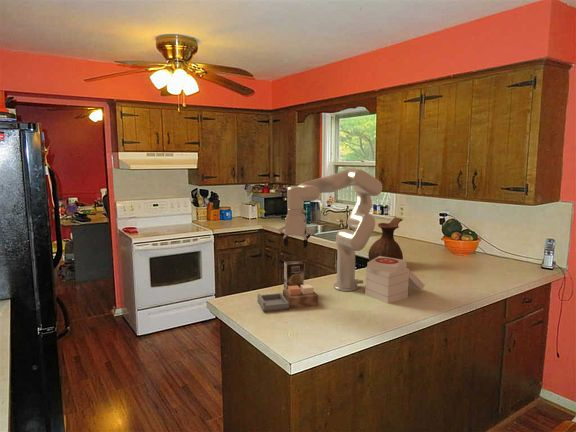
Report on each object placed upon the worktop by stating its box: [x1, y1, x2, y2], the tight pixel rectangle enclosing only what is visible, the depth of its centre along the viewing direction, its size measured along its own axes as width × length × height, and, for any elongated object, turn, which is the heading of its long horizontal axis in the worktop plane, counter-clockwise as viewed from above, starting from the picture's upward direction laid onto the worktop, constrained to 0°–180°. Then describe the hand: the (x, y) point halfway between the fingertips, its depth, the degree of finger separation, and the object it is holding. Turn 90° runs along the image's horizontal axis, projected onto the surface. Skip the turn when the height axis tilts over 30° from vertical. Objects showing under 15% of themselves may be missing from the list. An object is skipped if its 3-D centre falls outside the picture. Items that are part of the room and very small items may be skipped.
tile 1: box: [288, 285, 301, 295], centre depth 197 cm, size 5×5×3 cm
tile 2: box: [300, 283, 315, 294], centre depth 198 cm, size 5×5×3 cm
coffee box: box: [283, 260, 305, 290], centre depth 211 cm, size 9×6×16 cm
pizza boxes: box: [364, 256, 425, 304], centre depth 209 cm, size 19×30×18 cm, turn 125°
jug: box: [368, 216, 404, 261], centre depth 258 cm, size 22×22×30 cm
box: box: [257, 292, 290, 313], centre depth 194 cm, size 12×14×4 cm
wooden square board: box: [282, 289, 319, 309], centre depth 198 cm, size 14×12×5 cm
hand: (295, 246), depth 200 cm, fingers open, 9 cm apart
